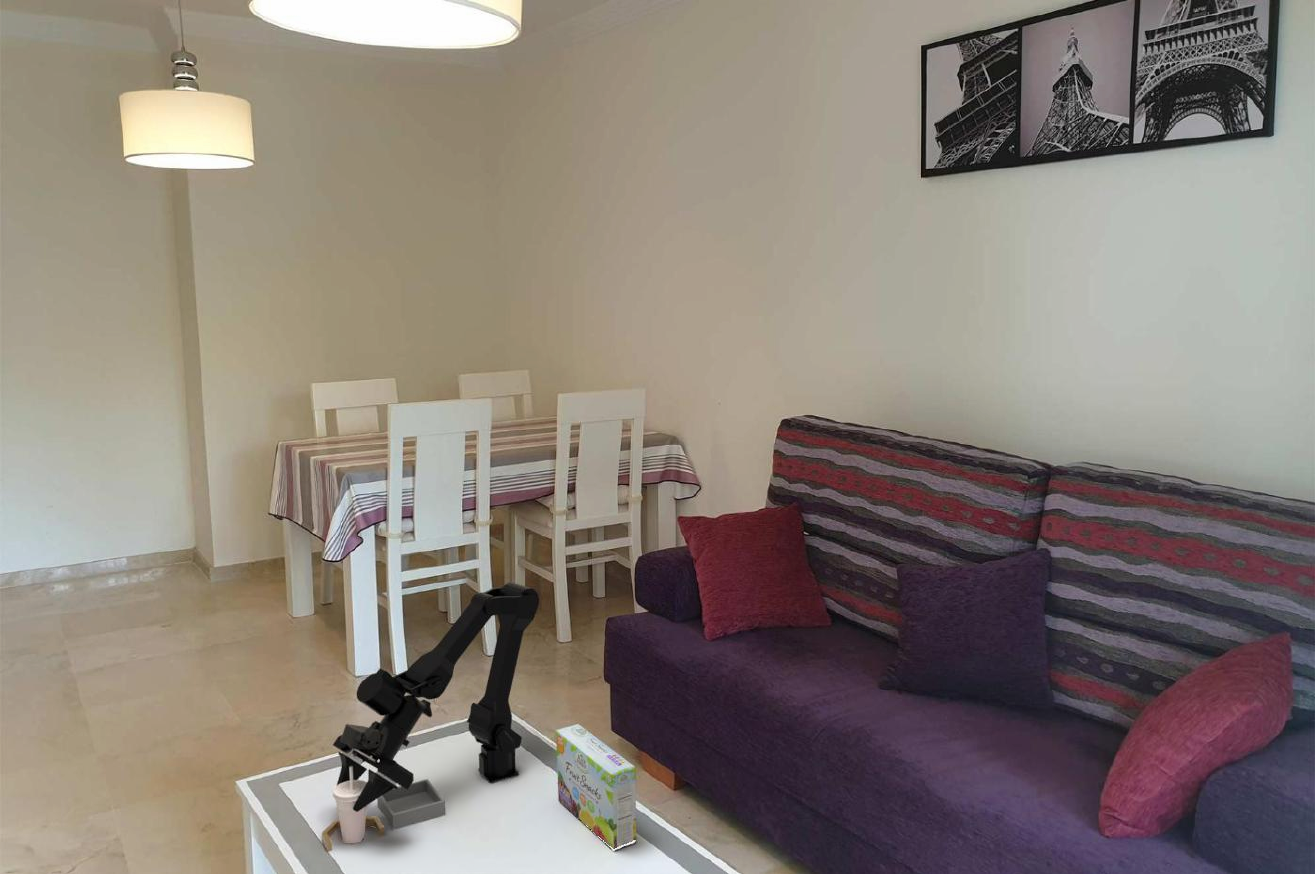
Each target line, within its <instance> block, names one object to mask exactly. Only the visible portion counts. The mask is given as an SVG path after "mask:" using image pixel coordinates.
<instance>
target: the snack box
mask: <svg viewBox="0 0 1315 874" xmlns="http://www.w3.org/2000/svg"><path fill="white" fill-rule="evenodd" d="M555 736H556V739H555V740H556V743H555V744H556V765H557V766H556V770H557V771H556V772H557V792H558V796H557V797H558V798H557V799H558V802H559V801H560V802H561V803H562V804H561V805H562V806H564V808H566V809H567V810H568V811H569V810H570V811H571V812H572V813H573V814H574V815H575V816H576V817H575V816H574V815H573V814H572V813H571V812H570V811H569V812H570V813H571V814H572V815H573V816H574V817H575V818H576V819H578V820H579V819H580V820H581V821H582V822H583V823H584V824H585V825H587V826H588V828H590V829H591V830H592V831H593V832H594V833H595V834H596V835H597V836H599V837H600V838H601V839H602V840H604V842H606V843H607V844H608V845H609V846H611V847H612V848H613V849H615V848H617V847H619V846H621V845H624V844H627V843H629V842H632V841H633V840H636V841H637V802H636V801H637V794H636V793H637V790H636V788H637V787H636V786H637V785H636V784H637V783H636V781H637V780H636V766H635V765H633V764H632V763H630V762H629V760H626V758H624V757H623V756H621V755H620V754H619V753H618V752H616V751H615V750H614V749H612V748H611V747H609V746H608V745H606V744H605V743H604V742H603V741H601V740H600V739H599V738H598V737H596V736H595V735H593V734H592V733H591V732H590V731H588V730H587V729H586V728H584V727H583V726H582V725H580V724H579V723H577V724H576V723H575V724H572V725H570V726H565V727H563V728H559V729H556V730H555ZM560 802H559V803H560ZM580 820H579V821H580ZM581 821H580V822H581ZM582 822H581V823H582ZM583 823H582V824H583ZM584 824H583V825H584ZM585 825H584V826H585ZM588 828H587V829H588ZM590 829H589V830H590ZM591 830H590V831H591ZM592 831H591V832H592ZM593 832H592V833H593ZM594 833H593V834H594ZM595 834H594V835H595ZM596 835H595V836H596ZM597 836H596V837H597Z"/></svg>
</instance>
